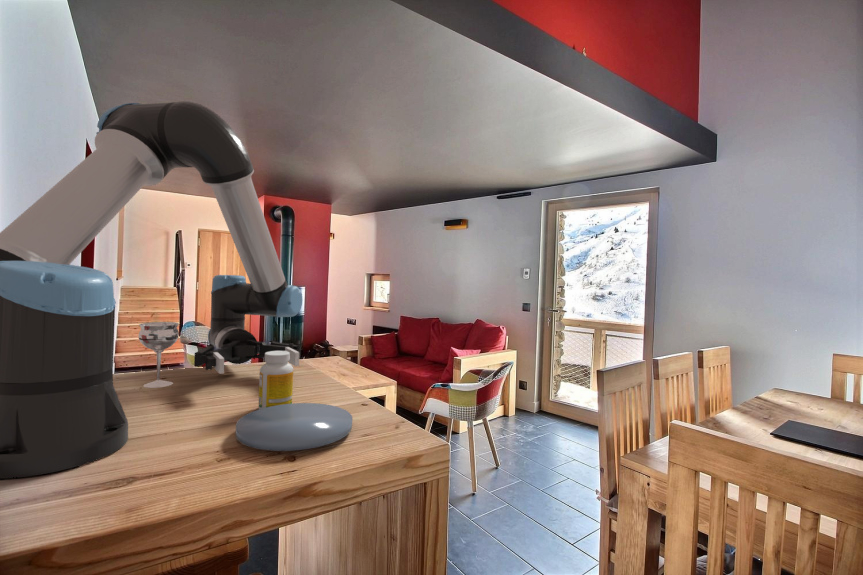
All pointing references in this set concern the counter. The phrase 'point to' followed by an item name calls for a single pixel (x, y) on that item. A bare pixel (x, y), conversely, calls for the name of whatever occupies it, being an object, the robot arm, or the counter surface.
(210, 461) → the counter surface
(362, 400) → the counter surface
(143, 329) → the wineglass
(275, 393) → the supplement bottle
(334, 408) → the slate dish
